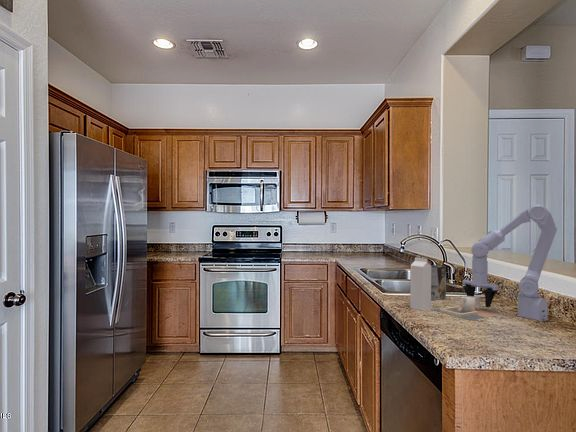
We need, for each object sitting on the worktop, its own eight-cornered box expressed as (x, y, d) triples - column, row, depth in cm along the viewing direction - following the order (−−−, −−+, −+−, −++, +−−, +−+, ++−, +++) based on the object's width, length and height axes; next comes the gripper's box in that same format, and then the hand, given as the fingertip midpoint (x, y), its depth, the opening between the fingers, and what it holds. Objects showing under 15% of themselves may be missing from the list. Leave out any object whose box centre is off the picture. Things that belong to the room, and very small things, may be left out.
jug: (468, 314, 153) (468, 299, 153) (457, 311, 157) (457, 296, 157) (483, 311, 158) (483, 296, 158) (472, 308, 162) (472, 294, 162)
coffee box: (439, 302, 178) (440, 267, 178) (425, 300, 182) (426, 266, 183) (446, 299, 186) (446, 265, 186) (432, 297, 190) (432, 264, 190)
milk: (422, 313, 158) (423, 259, 158) (409, 310, 163) (410, 257, 163) (431, 311, 162) (431, 258, 162) (418, 308, 167) (418, 256, 167)
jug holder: (501, 317, 153) (501, 311, 153) (469, 323, 144) (469, 317, 144) (461, 307, 169) (461, 302, 169) (430, 312, 160) (430, 306, 160)
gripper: (502, 273, 156) (502, 307, 156) (470, 269, 169) (470, 300, 169) (491, 274, 153) (491, 309, 153) (459, 270, 165) (459, 302, 165)
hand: (479, 305), depth 160 cm, fingers open, 7 cm apart
